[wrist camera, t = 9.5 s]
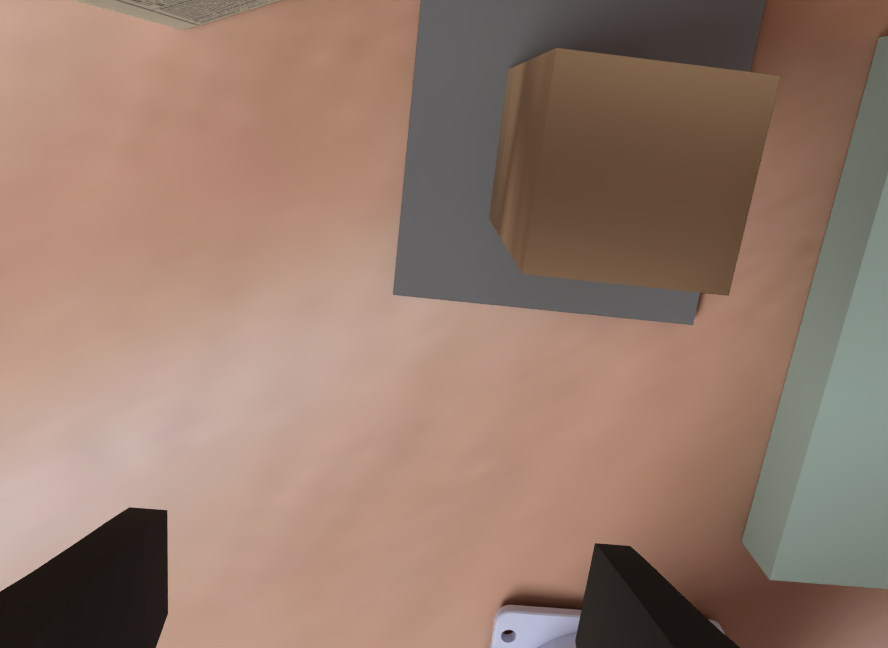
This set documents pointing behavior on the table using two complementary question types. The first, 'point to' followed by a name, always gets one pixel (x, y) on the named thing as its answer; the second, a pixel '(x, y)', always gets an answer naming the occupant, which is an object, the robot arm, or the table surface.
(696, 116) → the walnut block
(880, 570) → the pocket board
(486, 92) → the rubber mat
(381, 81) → the table surface
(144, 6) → the skincare box
